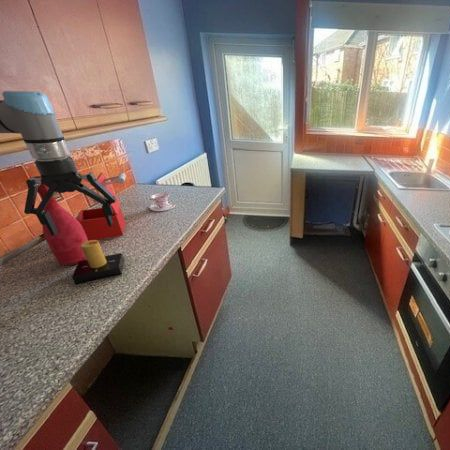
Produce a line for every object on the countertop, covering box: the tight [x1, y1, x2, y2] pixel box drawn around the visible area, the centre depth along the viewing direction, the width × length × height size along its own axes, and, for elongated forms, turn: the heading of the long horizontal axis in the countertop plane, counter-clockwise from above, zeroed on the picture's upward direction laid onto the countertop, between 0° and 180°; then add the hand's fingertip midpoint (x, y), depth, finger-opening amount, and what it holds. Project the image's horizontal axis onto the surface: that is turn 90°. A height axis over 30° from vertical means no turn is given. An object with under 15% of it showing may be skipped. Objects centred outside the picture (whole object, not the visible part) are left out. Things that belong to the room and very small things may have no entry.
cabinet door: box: [96, 171, 127, 215], centre depth 101 cm, size 15×12×8 cm
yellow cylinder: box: [81, 239, 107, 268], centre depth 79 cm, size 4×4×8 cm
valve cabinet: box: [75, 206, 127, 241], centre depth 103 cm, size 14×12×9 cm
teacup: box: [149, 192, 176, 212], centre depth 127 cm, size 12×12×6 cm
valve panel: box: [71, 252, 125, 286], centre depth 82 cm, size 12×9×3 cm
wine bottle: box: [33, 175, 88, 266], centre depth 81 cm, size 10×10×30 cm
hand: (83, 228), depth 75 cm, fingers open, 13 cm apart
